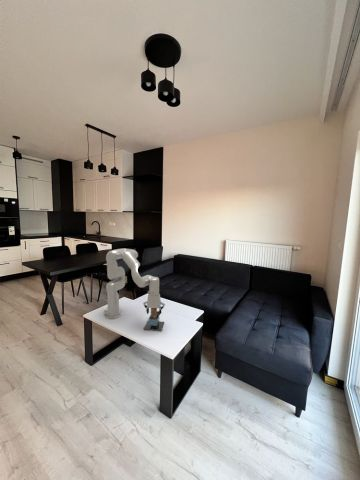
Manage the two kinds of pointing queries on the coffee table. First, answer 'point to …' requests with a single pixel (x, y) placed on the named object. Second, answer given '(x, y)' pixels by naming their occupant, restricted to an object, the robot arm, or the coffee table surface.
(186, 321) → the coffee table surface
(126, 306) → the coffee table surface
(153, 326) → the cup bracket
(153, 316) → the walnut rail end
